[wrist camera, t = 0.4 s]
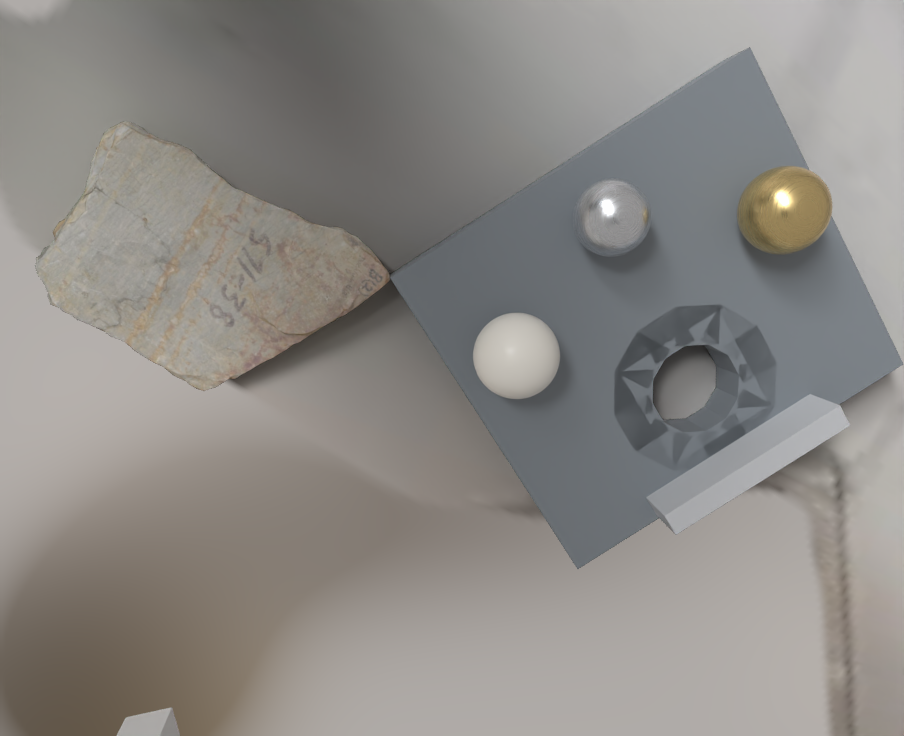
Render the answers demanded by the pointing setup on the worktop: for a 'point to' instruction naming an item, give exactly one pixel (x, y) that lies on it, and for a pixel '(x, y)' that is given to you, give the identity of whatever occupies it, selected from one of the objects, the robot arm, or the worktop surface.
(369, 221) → the worktop surface
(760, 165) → the board
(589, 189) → the steel ball
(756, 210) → the brass ball
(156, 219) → the stone
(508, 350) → the white ball
